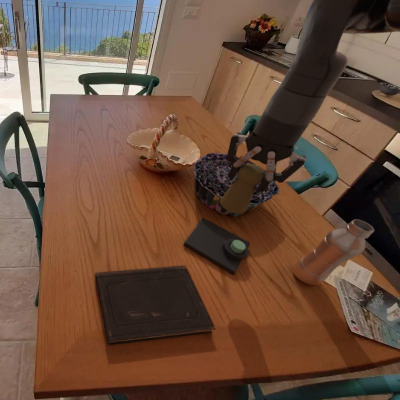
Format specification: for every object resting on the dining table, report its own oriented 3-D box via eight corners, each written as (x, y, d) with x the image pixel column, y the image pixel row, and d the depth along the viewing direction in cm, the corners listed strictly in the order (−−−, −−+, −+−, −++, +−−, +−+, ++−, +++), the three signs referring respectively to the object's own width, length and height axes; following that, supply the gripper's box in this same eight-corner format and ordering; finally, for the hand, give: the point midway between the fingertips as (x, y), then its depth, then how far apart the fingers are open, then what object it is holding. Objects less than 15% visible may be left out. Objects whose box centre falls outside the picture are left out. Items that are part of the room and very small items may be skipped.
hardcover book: (211, 333, 58) (215, 328, 56) (107, 345, 55) (109, 341, 53) (182, 269, 69) (184, 263, 68) (94, 276, 66) (95, 271, 65)
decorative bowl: (272, 199, 94) (289, 176, 88) (248, 238, 78) (267, 213, 72) (203, 167, 107) (214, 145, 100) (170, 195, 90) (181, 170, 84)
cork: (248, 216, 62) (272, 178, 55) (220, 209, 63) (240, 172, 56) (245, 200, 66) (267, 163, 59) (219, 194, 68) (238, 157, 60)
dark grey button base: (250, 246, 76) (255, 240, 74) (235, 276, 69) (240, 270, 66) (201, 220, 83) (204, 213, 81) (183, 245, 75) (186, 238, 73)
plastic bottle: (294, 261, 73) (348, 209, 59) (322, 279, 69) (386, 228, 56) (285, 274, 70) (339, 222, 56) (313, 293, 66) (379, 243, 53)
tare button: (244, 248, 72) (247, 244, 71) (240, 255, 70) (243, 251, 69) (232, 241, 74) (235, 237, 72) (228, 248, 72) (231, 244, 70)
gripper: (241, 107, 50) (207, 178, 62) (331, 135, 44) (274, 209, 55) (252, 96, 54) (218, 165, 66) (336, 121, 48) (282, 191, 60)
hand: (244, 184), depth 61 cm, fingers closed on cork, 5 cm apart
